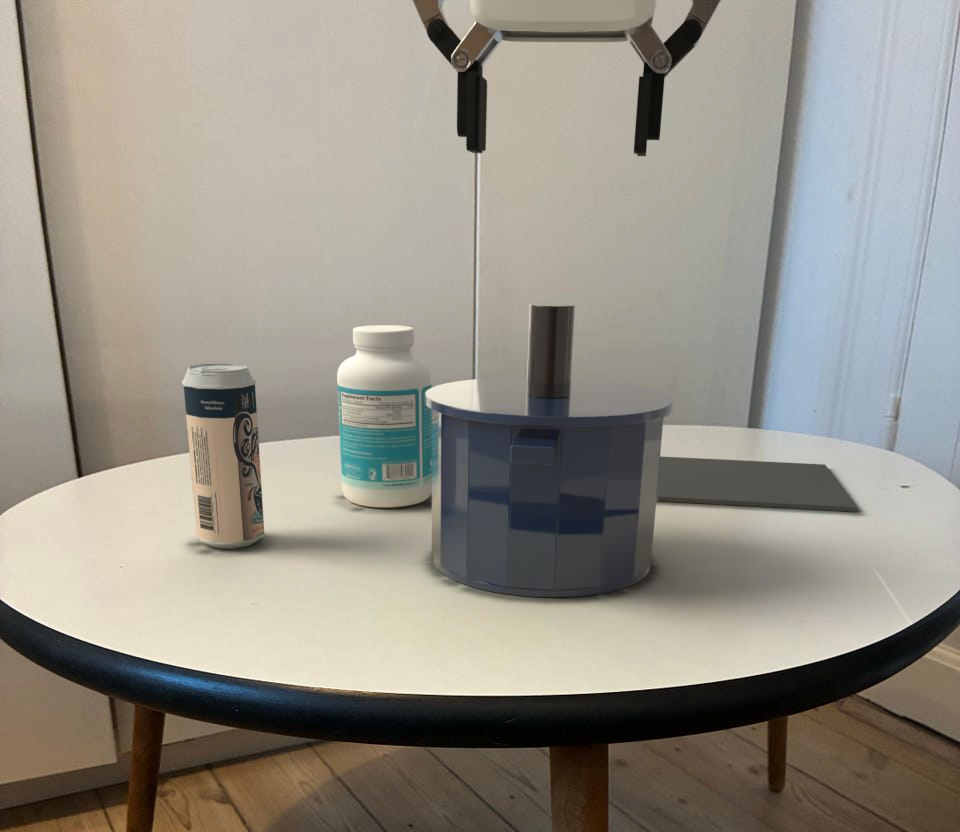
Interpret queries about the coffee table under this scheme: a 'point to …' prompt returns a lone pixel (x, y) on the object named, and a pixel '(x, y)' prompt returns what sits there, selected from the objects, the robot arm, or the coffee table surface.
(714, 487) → the trivet
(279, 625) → the coffee table surface
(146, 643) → the coffee table surface
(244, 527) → the beer can
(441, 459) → the pot
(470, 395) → the lid
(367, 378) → the pill bottle
